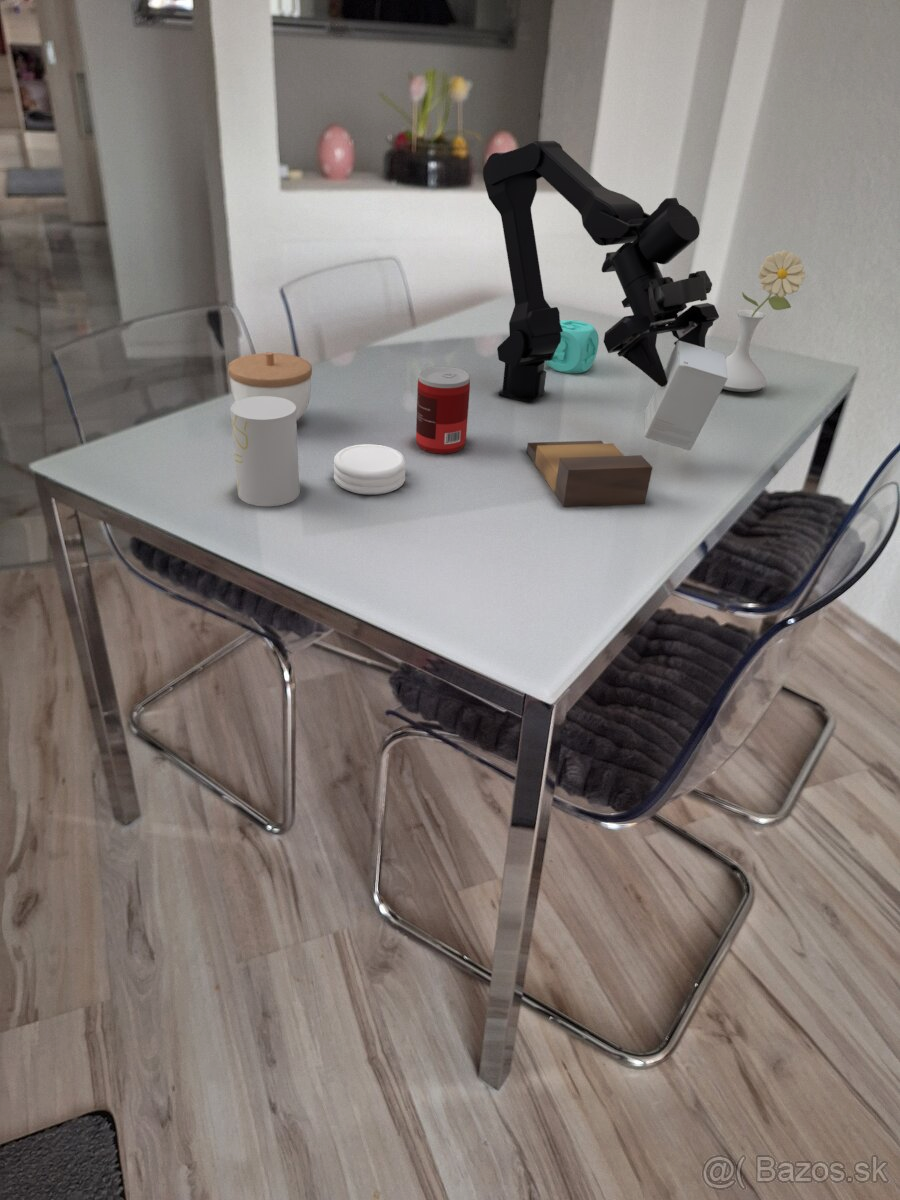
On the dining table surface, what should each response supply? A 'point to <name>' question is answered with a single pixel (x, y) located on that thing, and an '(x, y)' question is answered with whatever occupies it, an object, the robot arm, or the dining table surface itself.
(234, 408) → the cup
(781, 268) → the flower in vase
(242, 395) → the lidded bowl
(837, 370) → the dining table surface
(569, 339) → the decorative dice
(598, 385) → the dining table surface
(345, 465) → the coaster
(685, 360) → the white packaging box
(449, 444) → the canned food
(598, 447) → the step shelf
